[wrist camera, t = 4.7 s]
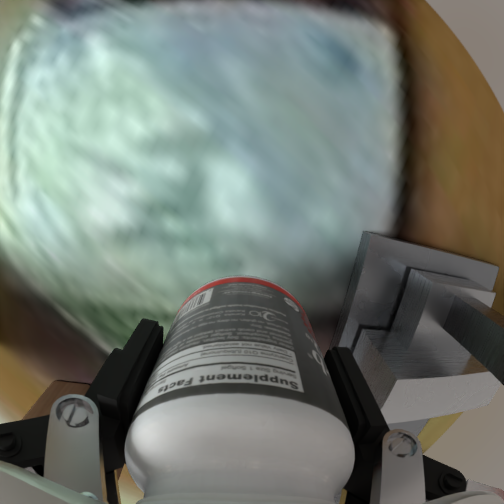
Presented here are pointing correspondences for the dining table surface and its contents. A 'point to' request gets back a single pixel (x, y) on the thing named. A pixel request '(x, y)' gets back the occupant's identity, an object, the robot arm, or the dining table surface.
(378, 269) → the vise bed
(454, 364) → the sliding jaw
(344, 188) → the dining table surface
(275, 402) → the pill bottle
